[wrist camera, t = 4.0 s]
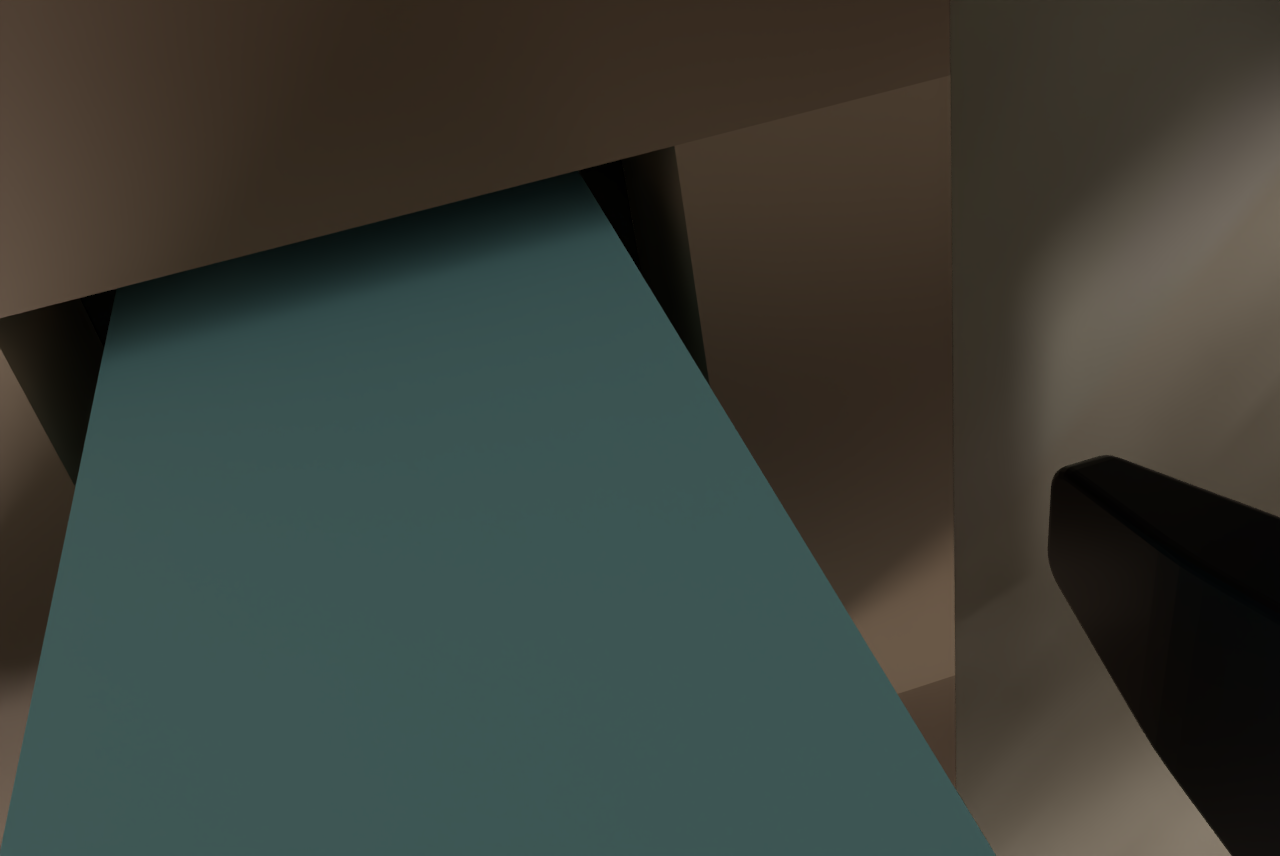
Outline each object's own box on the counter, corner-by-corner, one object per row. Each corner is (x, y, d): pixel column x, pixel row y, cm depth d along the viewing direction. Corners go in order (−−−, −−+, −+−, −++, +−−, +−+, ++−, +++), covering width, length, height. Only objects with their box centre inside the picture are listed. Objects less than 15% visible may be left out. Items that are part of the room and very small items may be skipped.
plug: (646, 579, 13) (1047, 1534, 6) (319, 677, 12) (394, 1812, 6) (554, 132, 10) (1112, 1044, 4) (125, 240, 10) (-136, 1506, 3)
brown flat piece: (878, 675, 15) (956, 804, 13) (166, 902, 14) (154, 1074, 12) (820, -274, 9) (949, -252, 7) (-425, -8, 8) (-601, 85, 6)
